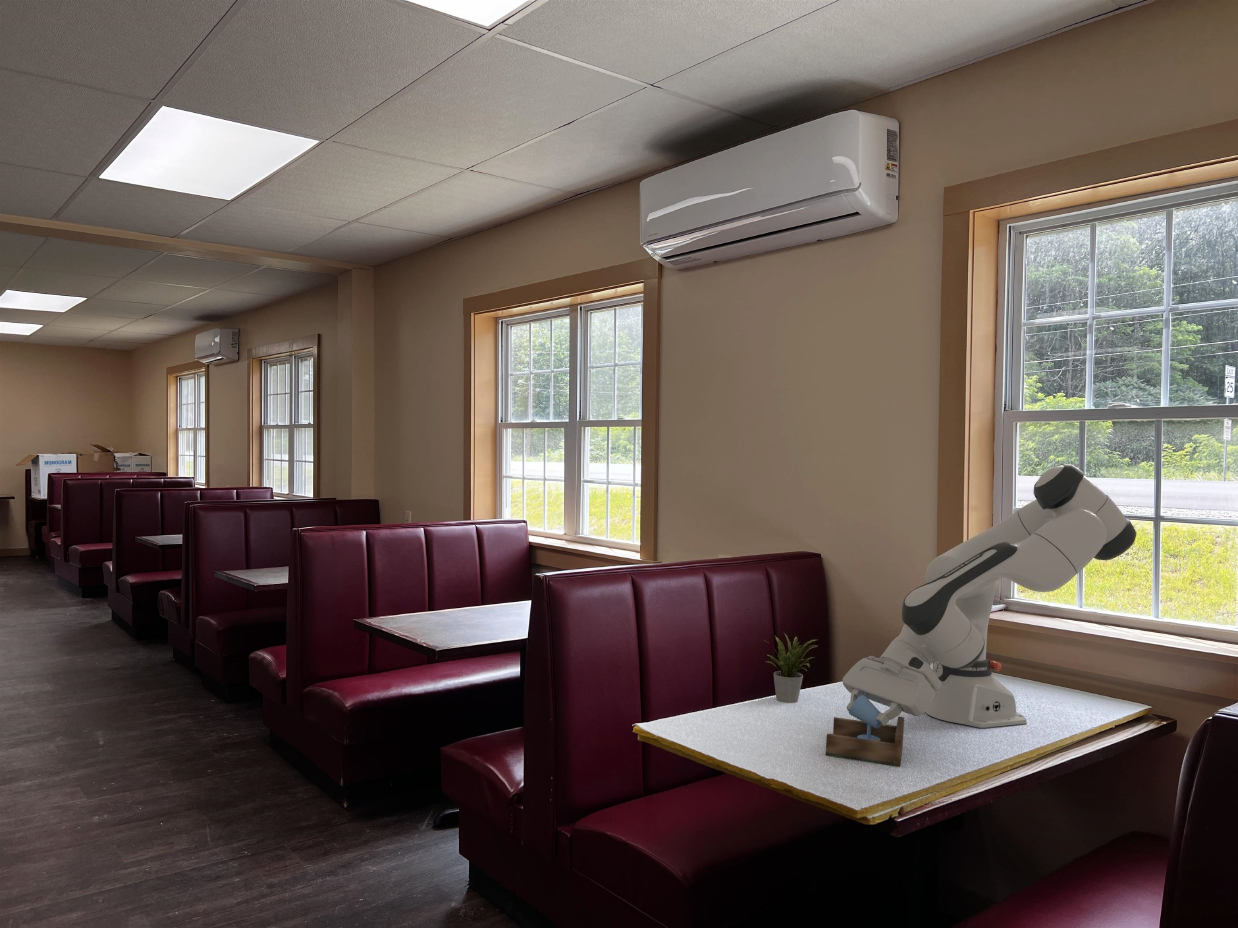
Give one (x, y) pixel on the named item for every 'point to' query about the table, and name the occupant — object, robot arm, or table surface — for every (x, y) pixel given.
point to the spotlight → (865, 715)
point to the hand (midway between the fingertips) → (865, 717)
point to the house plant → (789, 671)
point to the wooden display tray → (866, 742)
